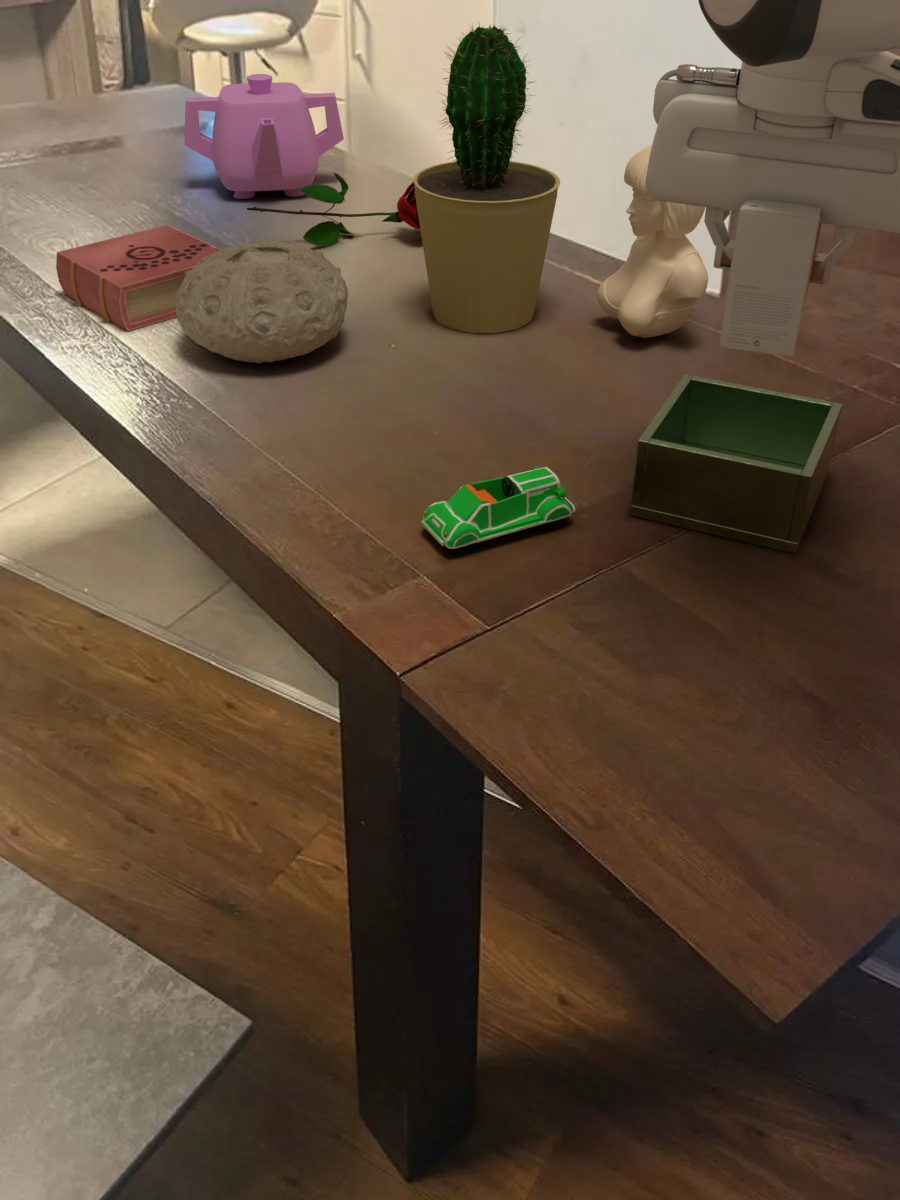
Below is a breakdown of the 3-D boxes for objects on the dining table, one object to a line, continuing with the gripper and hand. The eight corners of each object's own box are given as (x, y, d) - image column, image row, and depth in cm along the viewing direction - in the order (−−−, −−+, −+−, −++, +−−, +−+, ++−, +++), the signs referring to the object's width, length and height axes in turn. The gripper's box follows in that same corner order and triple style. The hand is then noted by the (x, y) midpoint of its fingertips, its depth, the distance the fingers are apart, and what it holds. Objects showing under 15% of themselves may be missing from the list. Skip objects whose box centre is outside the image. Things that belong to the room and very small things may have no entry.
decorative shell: (146, 358, 122) (131, 263, 117) (246, 301, 135) (237, 213, 129) (291, 393, 116) (283, 295, 110) (381, 329, 129) (378, 238, 123)
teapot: (275, 215, 160) (266, 97, 152) (176, 193, 168) (161, 79, 160) (359, 181, 174) (355, 71, 165) (263, 162, 182) (254, 56, 173)
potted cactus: (513, 352, 124) (525, 41, 107) (388, 323, 130) (380, 24, 113) (575, 304, 135) (595, 15, 117) (457, 279, 141) (460, 1, 124)
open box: (827, 476, 103) (843, 403, 99) (795, 554, 93) (811, 476, 89) (675, 444, 108) (684, 373, 104) (629, 515, 98) (637, 440, 93)
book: (58, 296, 136) (49, 253, 133) (172, 265, 145) (167, 224, 142) (121, 333, 128) (113, 288, 125) (239, 298, 136) (234, 255, 133)
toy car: (544, 495, 100) (547, 450, 98) (577, 524, 96) (581, 478, 94) (418, 530, 96) (417, 484, 93) (447, 561, 92) (447, 514, 89)
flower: (249, 160, 141) (489, 165, 149) (241, 178, 150) (468, 182, 158) (254, 238, 142) (491, 239, 150) (246, 251, 151) (471, 251, 159)
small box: (793, 360, 87) (821, 216, 81) (716, 349, 88) (738, 207, 82) (803, 320, 93) (830, 184, 87) (731, 310, 95) (753, 176, 88)
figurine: (582, 314, 133) (596, 127, 121) (657, 304, 135) (677, 121, 123) (635, 362, 122) (656, 163, 111) (715, 350, 125) (743, 155, 113)
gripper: (644, 70, 81) (626, 266, 89) (958, 101, 74) (907, 311, 82) (670, 53, 86) (650, 241, 94) (967, 80, 79) (918, 281, 87)
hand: (772, 274), depth 88 cm, fingers closed on small box, 6 cm apart
